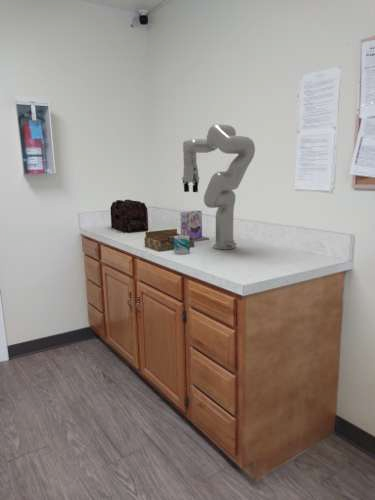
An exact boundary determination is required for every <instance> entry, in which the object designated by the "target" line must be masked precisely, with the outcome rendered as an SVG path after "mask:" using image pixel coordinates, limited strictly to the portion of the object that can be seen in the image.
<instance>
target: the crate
mask: <svg viewBox="0 0 375 500" xmlns="http://www.w3.org/2000/svg"><path fill="white" fill-rule="evenodd" d="M148 211H149V210H148V207H147V206H146V203H145V202H142V201H138V200H132V199H124V200H122V199H117V200H115V201H113V202H112V203H111V206H110V225H111V229H114V230H116V231H117V230H118V231H119V232H122V233H124V234H127V233H128V234H134V233H146V232H149V214H148V213H149V212H148Z"/></svg>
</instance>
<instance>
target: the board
mask: <svg viewBox="0 0 375 500" xmlns="http://www.w3.org/2000/svg"><path fill="white" fill-rule="evenodd" d="M207 240H210V237H207V236H203V235H202V237H200V238H196V239H194V242H200V241H207Z"/></svg>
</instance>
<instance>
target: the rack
mask: <svg viewBox="0 0 375 500" xmlns="http://www.w3.org/2000/svg"><path fill="white" fill-rule="evenodd" d="M176 235H181V233H178V229H177V228H171V229H162V230H151V231H147V232H145V237H143V238H144V247H147V248H148V249H152V250H154V251H157V252H165V251H166V250H167V251H173V249H174V244H168V245H166V243H168V237H169V236H176ZM182 236H185V235H182ZM194 247H195V241H194V238H193V237H190V248H194Z"/></svg>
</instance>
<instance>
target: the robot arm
mask: <svg viewBox="0 0 375 500" xmlns="http://www.w3.org/2000/svg"><path fill="white" fill-rule="evenodd" d="M236 134H237V132H236V129H235V127H233V126H232V125H230V124H229V125H228V124H218V123H217V124H213V125H211V126H210V127H209V129H208V132H207V135H206V138H204V139H203V138H190V140H184V141H183V143H182V146H183V147H182V152H183V176H182V178H181V179H182V184H183V192H184V193H188V192H190V185H189V184H190V183H192V192H193V193H198V192H199V182H200V176H199V168H198V164H197V154H198V153H199V154H200V153H201V154H202V153H204V154H208V153H211V152H214V151H216V150H217V149H218V150H220V152H222V153H223V154H229V155H237V156H235V158H233V160H232V161H231V163H230V164H229V167H228V168H227V170H226V171H217V172H215V173H214V174H213V175H212V176H211V177H210V180H209V181H208V182H209V183H208V185H207V187H206V190H205V193H204V195H203V203H204V205H205V206H206V207H207V208H209V209H216V208H217V209H216V212H215V244H214V243H213V245H212V248H214V249H216V250H217V249H218V250H233V249H236V248H237V243H236V242H235V239H234V210H235V203H236V194H235V193H236V192H235V191H234V190H237V189H238V188H239V187H240V184H241V182H242V181H243V178H244V176H245V174H246V172H247V169H248V168H249V166H250V164H251V163H252V161H253V159H254V156H255V152H256V151H255V150H256V148H255V147H256V146H255V143H254V140H253V139H251V138H250V137H248V136H245V135H244V136H242V135H236Z"/></svg>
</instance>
